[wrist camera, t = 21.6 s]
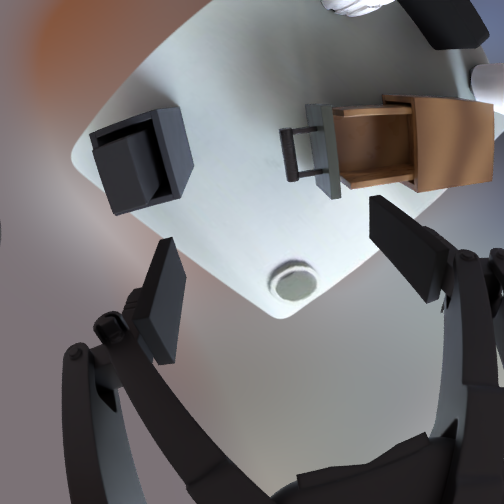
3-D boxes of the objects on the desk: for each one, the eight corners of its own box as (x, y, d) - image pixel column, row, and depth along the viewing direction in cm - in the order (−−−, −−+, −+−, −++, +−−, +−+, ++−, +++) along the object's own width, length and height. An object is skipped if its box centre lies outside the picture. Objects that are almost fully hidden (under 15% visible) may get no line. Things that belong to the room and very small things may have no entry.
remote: (155, 166, 33) (110, 215, 19) (144, 128, 30) (88, 151, 17) (178, 159, 33) (147, 204, 19) (168, 121, 30) (126, 137, 17)
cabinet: (387, 175, 37) (417, 193, 30) (381, 94, 31) (414, 96, 24) (461, 166, 37) (492, 181, 30) (459, 98, 31) (493, 104, 24)
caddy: (147, 178, 34) (115, 216, 23) (131, 121, 30) (88, 134, 19) (194, 166, 34) (180, 198, 23) (179, 106, 30) (156, 109, 19)
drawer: (284, 190, 36) (295, 207, 31) (270, 109, 31) (279, 110, 26) (409, 170, 36) (433, 183, 31) (405, 99, 30) (431, 102, 25)
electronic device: (433, 50, 27) (480, 48, 19) (392, -4, 23) (434, -21, 15) (446, 40, 26) (492, 37, 17) (408, -13, 22) (449, -28, 13)
